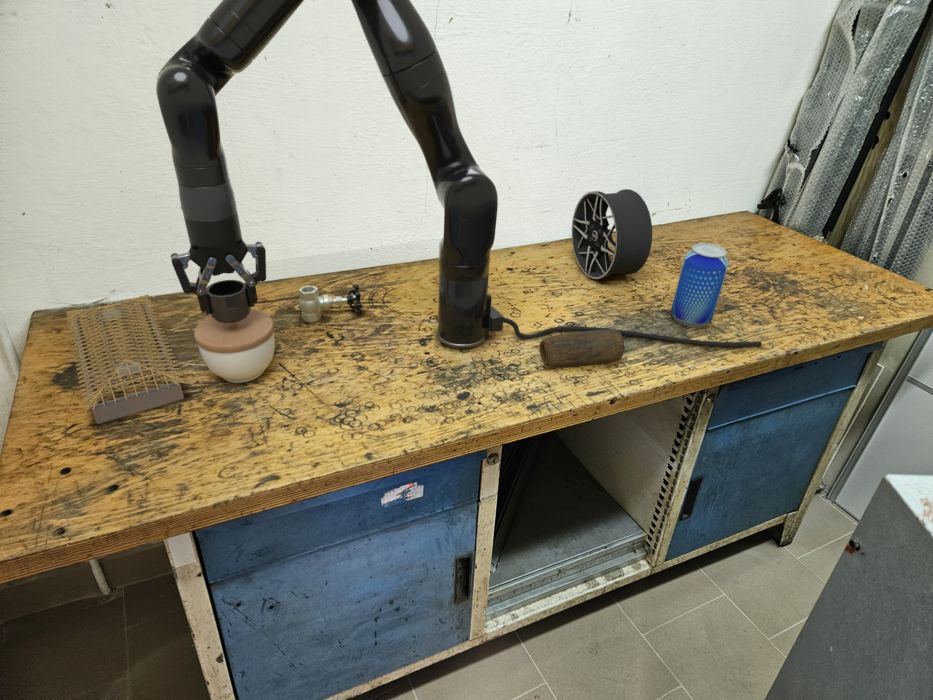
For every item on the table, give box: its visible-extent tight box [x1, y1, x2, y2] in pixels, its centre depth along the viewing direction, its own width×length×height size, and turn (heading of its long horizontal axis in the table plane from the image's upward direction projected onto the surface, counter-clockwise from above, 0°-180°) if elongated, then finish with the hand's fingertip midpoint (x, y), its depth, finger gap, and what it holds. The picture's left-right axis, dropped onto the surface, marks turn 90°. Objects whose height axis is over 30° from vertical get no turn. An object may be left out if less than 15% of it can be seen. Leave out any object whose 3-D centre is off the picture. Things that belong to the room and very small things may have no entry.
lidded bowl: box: [193, 309, 276, 384], centre depth 101 cm, size 13×13×11 cm
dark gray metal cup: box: [206, 279, 252, 323], centre depth 96 cm, size 6×6×5 cm
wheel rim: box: [571, 188, 653, 280], centre depth 138 cm, size 20×9×20 cm, turn 20°
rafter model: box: [65, 294, 188, 425], centre depth 103 cm, size 35×14×6 cm, turn 33°
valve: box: [298, 283, 363, 323], centre depth 119 cm, size 7×7×12 cm
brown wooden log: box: [539, 328, 625, 369], centre depth 108 cm, size 15×7×7 cm, turn 105°
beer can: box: [670, 242, 730, 329], centre depth 121 cm, size 8×8×16 cm
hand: (230, 308), depth 97 cm, fingers closed on dark gray metal cup, 6 cm apart
